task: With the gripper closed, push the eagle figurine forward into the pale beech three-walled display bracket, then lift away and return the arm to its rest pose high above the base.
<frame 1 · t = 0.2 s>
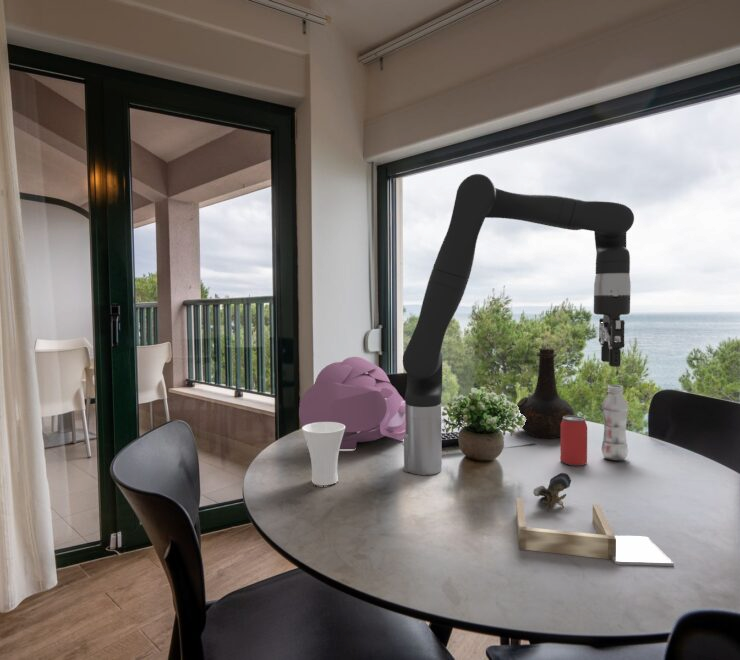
hand: (610, 363, 113), 28 cm above the table, tool pointing down, fingers open, 8 cm apart
display bracket: (560, 533, 90), on the table
glass bottle: (544, 435, 157), on the table
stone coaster: (632, 551, 84), on the table
plastic bottle: (614, 460, 132), on the table
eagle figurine: (553, 506, 103), on the table
beer can: (573, 463, 130), on the table
purple rounded folded piece: (363, 442, 152), on the table
cup: (324, 482, 118), on the table
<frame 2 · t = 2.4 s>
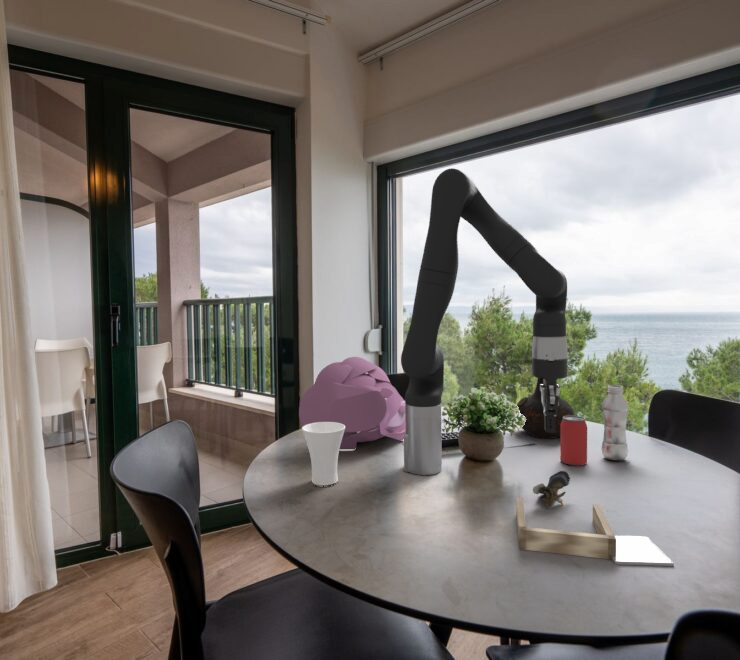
hand: (550, 431, 111), 13 cm above the table, tool pointing down, fingers closed
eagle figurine: (552, 503, 104), on the table
everything else where it was.
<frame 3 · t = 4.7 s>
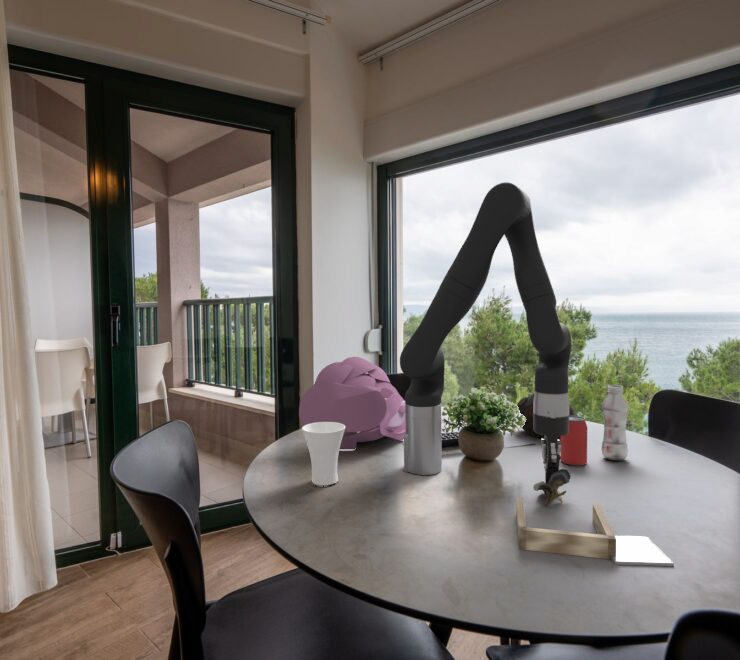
hand: (550, 487, 110), 1 cm above the table, tool pointing down, fingers closed
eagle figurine: (551, 500, 105), on the table, touching gripper, hand
everything else where it was.
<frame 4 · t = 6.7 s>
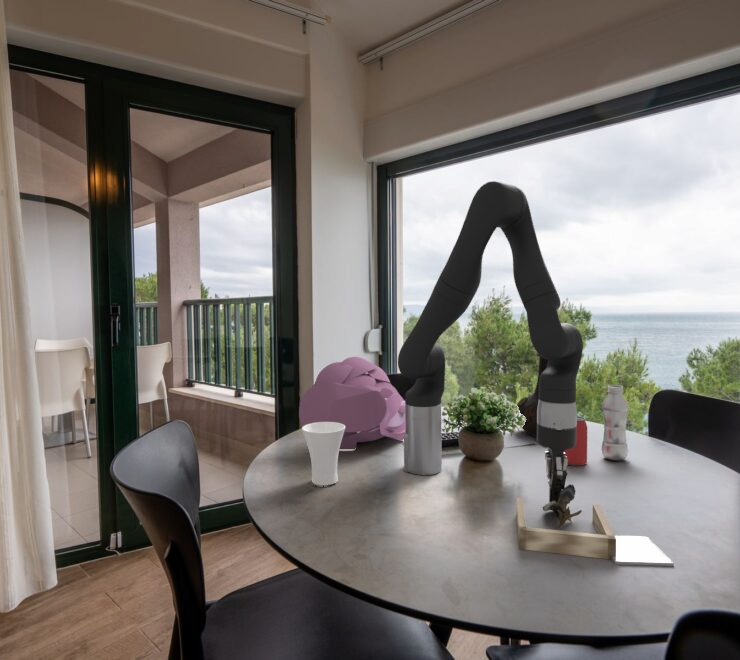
hand: (555, 505, 100), 1 cm above the table, tool pointing down, fingers closed
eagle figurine: (559, 520, 96), on the table, touching gripper, hand
everything else where it was.
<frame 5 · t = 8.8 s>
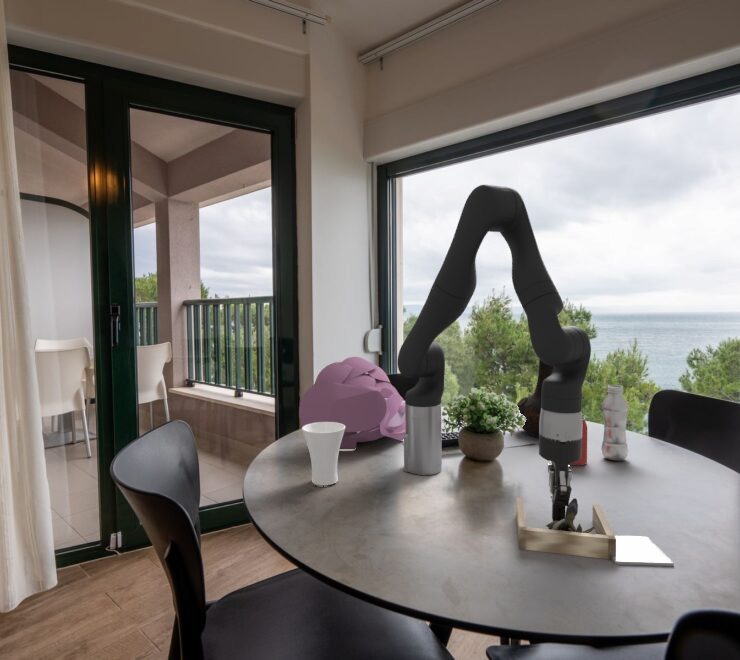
hand: (558, 521, 93), 1 cm above the table, tool pointing down, fingers closed
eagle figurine: (566, 538, 88), on the table, touching display bracket, gripper, hand
everything else where it was.
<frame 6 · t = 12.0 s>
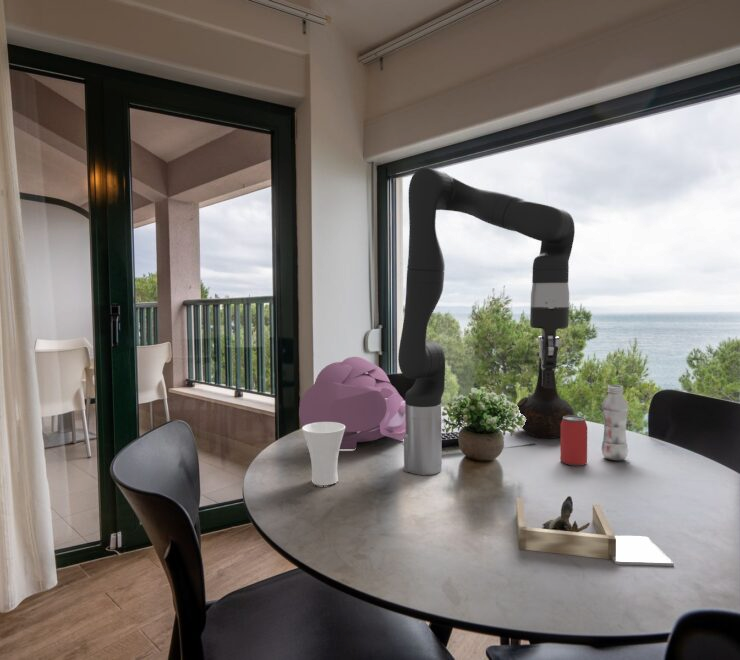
hand: (547, 387, 103), 25 cm above the table, tool pointing down, fingers closed
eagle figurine: (563, 536, 90), on the table
everything else where it was.
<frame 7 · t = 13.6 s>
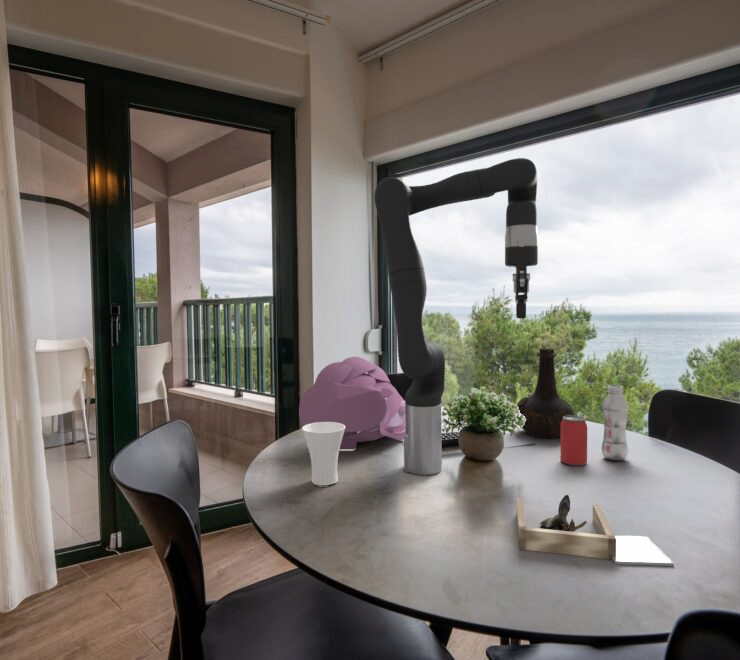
hand: (521, 318, 118), 39 cm above the table, tool pointing down, fingers closed
nothing on the table moved.
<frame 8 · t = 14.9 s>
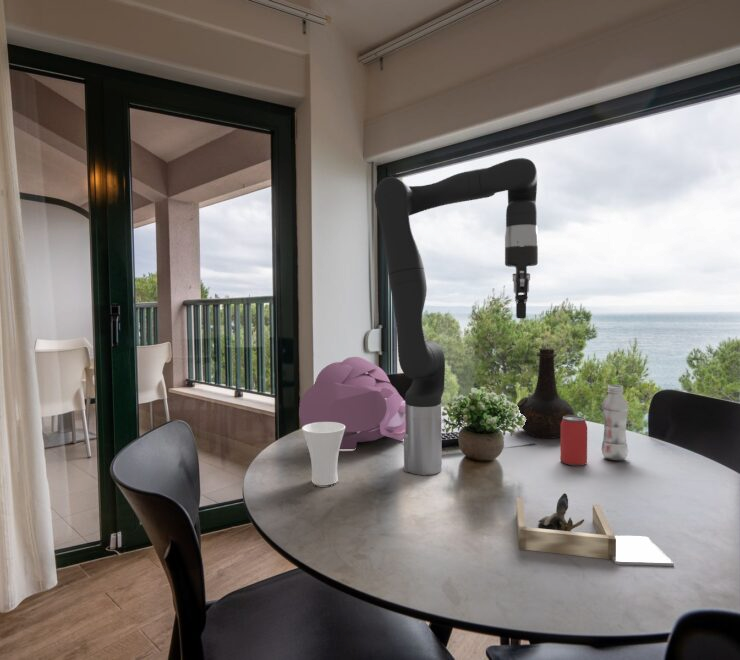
hand: (521, 318, 118), 39 cm above the table, tool pointing down, fingers closed
at the end: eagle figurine inside the target area (1.6 cm from its centre), on the table; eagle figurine tilted 0°; the gripper is holding nothing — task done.
